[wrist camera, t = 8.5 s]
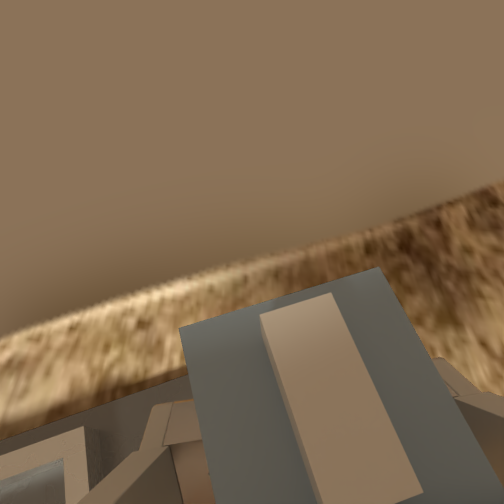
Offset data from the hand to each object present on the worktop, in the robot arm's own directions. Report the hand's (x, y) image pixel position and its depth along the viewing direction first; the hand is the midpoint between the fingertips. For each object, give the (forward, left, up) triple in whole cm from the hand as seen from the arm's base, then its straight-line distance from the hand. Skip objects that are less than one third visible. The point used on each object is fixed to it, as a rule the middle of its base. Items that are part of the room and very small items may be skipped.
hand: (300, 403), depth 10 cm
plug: (0, +1, -5) cm, 5 cm away
